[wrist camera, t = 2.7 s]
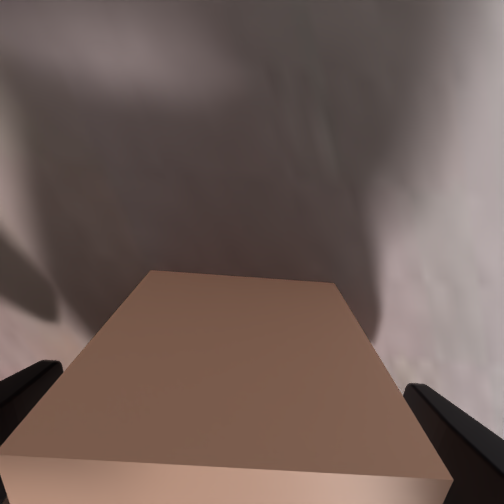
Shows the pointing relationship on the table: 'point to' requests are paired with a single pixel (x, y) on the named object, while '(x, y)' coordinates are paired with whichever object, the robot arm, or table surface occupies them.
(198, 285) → the terracotta block
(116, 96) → the table surface
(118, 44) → the table surface
